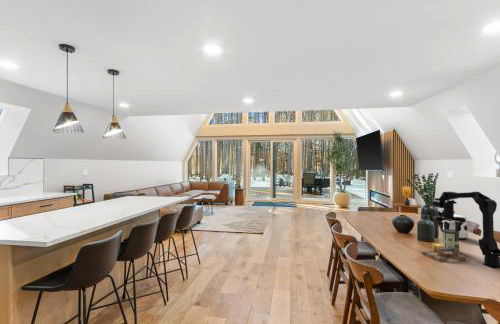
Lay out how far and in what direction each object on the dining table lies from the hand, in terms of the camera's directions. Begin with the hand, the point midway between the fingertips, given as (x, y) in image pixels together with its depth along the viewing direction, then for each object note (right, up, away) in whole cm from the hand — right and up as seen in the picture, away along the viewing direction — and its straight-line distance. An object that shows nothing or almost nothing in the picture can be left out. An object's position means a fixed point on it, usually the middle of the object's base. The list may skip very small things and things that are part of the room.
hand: (448, 231), depth 184 cm
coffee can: (+2, -14, +2) cm, 15 cm away
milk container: (+33, -15, +36) cm, 50 cm away
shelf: (-12, -14, -11) cm, 21 cm away
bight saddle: (-13, -12, -7) cm, 19 cm away
